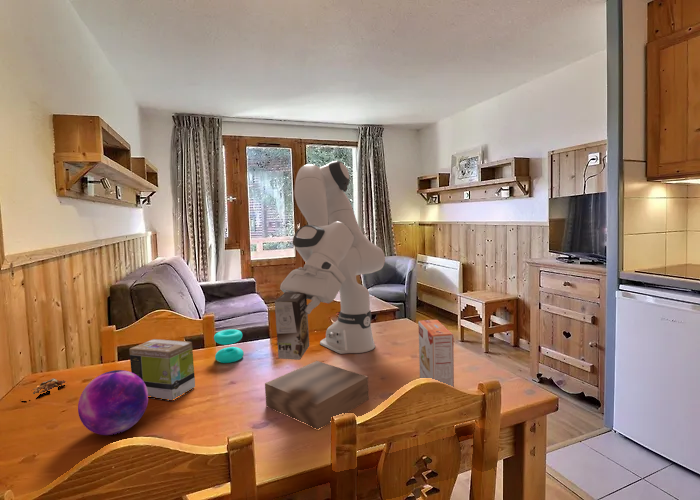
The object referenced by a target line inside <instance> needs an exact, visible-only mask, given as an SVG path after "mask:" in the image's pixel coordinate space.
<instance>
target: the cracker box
mask: <svg viewBox="0 0 700 500" xmlns="http://www.w3.org/2000/svg"><path fill="white" fill-rule="evenodd" d="M454 347H455V346H454V334H453V333H452V332H451V331H450V330H449V329H447V328H446V326H445V325H444V324H442V323H441V322H440V321H439V320H438V319H423V320H418V352H419V353H418V354H419V355H418V356H419V357H418V358H419V363H418V364H419V379H420V378H432V379H435V380H438V381H440V382H443V383H446V384H448V385H451V386H453V387H454V388H455V371H454V370H455V368H454V367H455V366H454V365H455V364H454V362H455V360H454V359H455V358H454V356H455V355H454V352H455V350H454V349H455V348H454Z"/></svg>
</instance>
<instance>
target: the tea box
mask: <svg viewBox="0 0 700 500" xmlns="http://www.w3.org/2000/svg"><path fill="white" fill-rule="evenodd" d="M193 350H194V349H193V342H192V341H185V340H174V339H173V340H171V339H159V338H158V339H157V338H153V339H150V340H148V341H145V342H144V343H141V344H138V345H136V346H133V347H130V348H129V349H128V351H129V360H130V369H131V370H130V372H132V373H134V374H136V375H137V376H139V377H140V378H141V379H142V380H143V381H144V383H145V385H146V387H147V390H148V396H151V397H156V398H162V399H169V400H173V399H175V398H176V397H178V396H180V395H182V394H183V393H185V392H187V391H189V390H190V389H192V388H194V387H195V388H196V378H195V366H194V365H195V363H194V353H193V352H194V351H193ZM195 388H194V389H195ZM192 390H193V389H192ZM189 392H190V391H189ZM162 399H161V400H162ZM169 400H168V401H169Z"/></svg>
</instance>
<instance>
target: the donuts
mask: <svg viewBox="0 0 700 500" xmlns="http://www.w3.org/2000/svg"><path fill="white" fill-rule="evenodd" d="M213 339H214V342H215V343H217V344H219V345H226V347H224V348H221V349H219V350H218V351H217V352H216V353H215V354H214V355H215V356H214V357H215V358H214V359H215V360H216V361H217V362H218V363H221V364H229V363H231V364H232V363H235V362H238V361H241V359H242V358H243V357H244V354H245V353H244V350H243V349H242V348H241V347H237V346H228V347H227V345H232V344H235V343H239V342H240V341H241V340H242V339H243V332H242V331H241V330H240V329H236V328H235V329H233V328H232V329H229V328H228V329H223V330H220V331H218V332H216V333H215V334H214V336H213Z"/></svg>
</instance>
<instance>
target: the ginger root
mask: <svg viewBox="0 0 700 500" xmlns="http://www.w3.org/2000/svg"><path fill="white" fill-rule="evenodd" d="M65 382H66V380H58V379H57V378H51V379H49V380H47V381H43V382H41V383H40V384H39V386H37V387H35V388H33V389H32V390H35V389H36V390H35V391H34V392H33V394H35V393H39V391H40V390H41V389H44V390H42V391H41V392H40V393H42V392H45V391H48V390H50V389H52V388H54V387H58V386H59V385H61V386H63V385H62V384H63V383H65Z"/></svg>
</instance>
